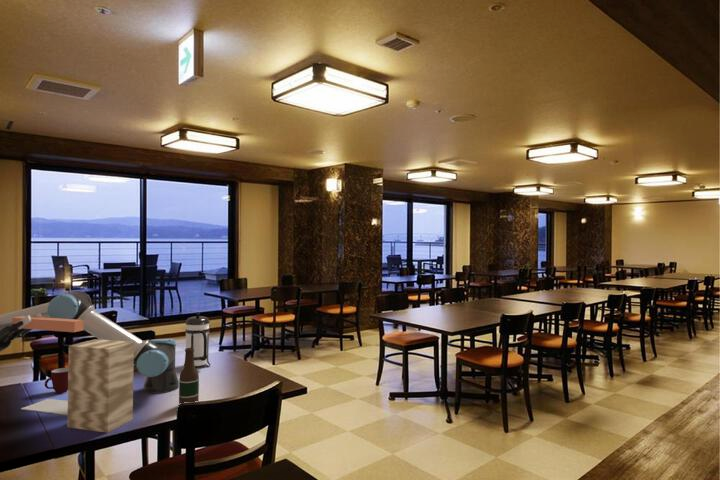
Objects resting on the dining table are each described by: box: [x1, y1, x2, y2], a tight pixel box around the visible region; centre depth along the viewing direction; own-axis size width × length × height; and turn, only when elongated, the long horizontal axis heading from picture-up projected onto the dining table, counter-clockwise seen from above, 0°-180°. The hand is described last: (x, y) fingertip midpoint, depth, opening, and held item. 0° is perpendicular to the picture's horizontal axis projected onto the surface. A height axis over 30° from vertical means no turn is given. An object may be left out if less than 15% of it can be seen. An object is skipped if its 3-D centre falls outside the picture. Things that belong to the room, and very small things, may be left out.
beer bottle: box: [178, 347, 200, 405], centre depth 186 cm, size 8×8×24 cm
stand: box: [66, 338, 135, 433], centre depth 167 cm, size 18×12×30 cm, turn 76°
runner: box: [20, 398, 68, 416], centre depth 182 cm, size 30×12×1 cm, turn 76°
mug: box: [44, 367, 68, 394], centre depth 200 cm, size 11×8×10 cm
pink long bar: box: [12, 316, 84, 333], centre depth 173 cm, size 30×4×4 cm, turn 76°
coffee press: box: [183, 312, 211, 368], centre depth 245 cm, size 17×16×30 cm
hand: (35, 317), depth 174 cm, fingers closed on pink long bar, 4 cm apart
